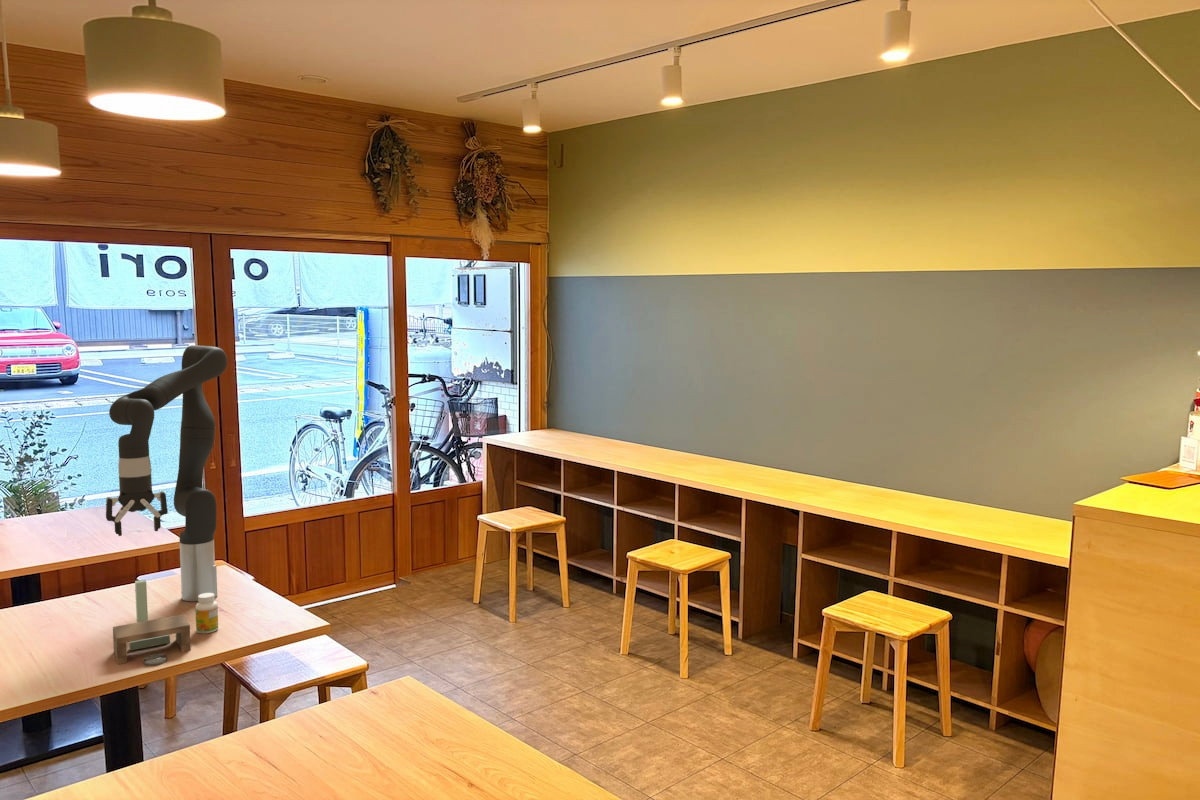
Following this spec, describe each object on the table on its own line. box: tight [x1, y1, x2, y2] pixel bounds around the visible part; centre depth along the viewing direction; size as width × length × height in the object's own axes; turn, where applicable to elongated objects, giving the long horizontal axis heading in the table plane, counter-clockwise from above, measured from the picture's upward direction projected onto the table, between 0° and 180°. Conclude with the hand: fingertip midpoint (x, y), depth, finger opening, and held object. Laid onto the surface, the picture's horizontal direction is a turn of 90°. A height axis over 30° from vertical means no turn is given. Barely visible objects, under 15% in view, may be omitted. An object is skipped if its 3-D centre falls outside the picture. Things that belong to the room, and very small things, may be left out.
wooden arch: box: [112, 614, 192, 665], centre depth 208 cm, size 16×9×6 cm, turn 125°
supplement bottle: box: [195, 593, 219, 634], centre depth 222 cm, size 5×5×10 cm
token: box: [143, 653, 168, 667], centre depth 202 cm, size 5×5×1 cm
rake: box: [128, 579, 171, 651], centre depth 217 cm, size 9×16×13 cm, turn 35°
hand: (138, 533), depth 222 cm, fingers open, 8 cm apart
